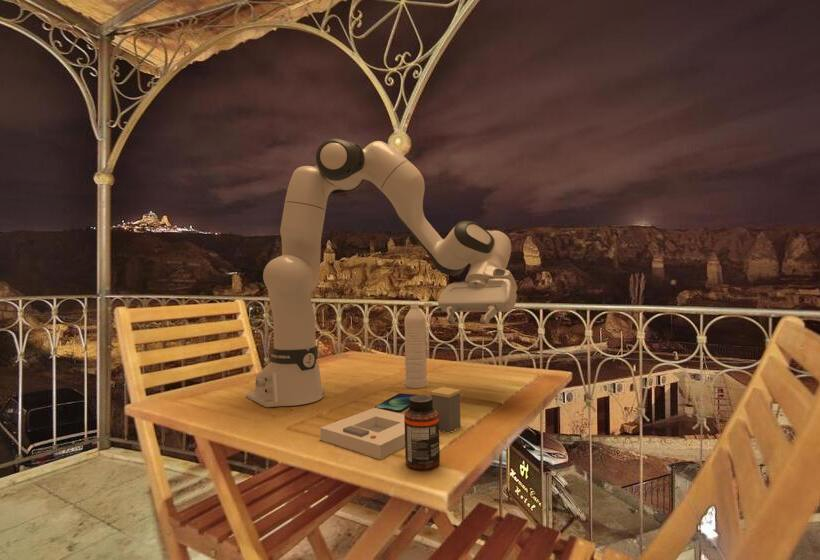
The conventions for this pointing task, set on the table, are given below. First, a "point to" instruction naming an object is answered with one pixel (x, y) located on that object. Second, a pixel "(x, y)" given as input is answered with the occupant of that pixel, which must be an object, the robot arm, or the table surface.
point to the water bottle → (415, 347)
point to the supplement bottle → (421, 433)
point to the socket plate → (368, 432)
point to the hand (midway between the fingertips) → (466, 322)
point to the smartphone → (396, 403)
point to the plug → (447, 408)
